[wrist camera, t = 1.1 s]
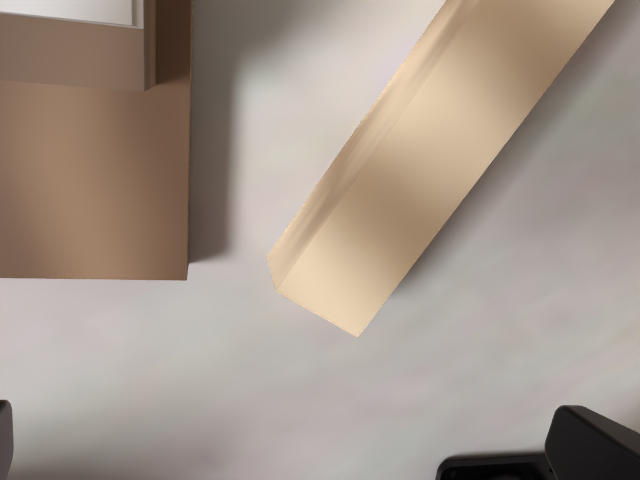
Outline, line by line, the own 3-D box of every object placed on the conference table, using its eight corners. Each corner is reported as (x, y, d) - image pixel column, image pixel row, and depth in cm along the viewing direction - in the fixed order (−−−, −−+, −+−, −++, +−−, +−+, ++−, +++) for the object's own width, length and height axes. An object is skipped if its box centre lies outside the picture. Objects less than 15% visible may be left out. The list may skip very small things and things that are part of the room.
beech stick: (647, -292, 17) (749, -372, 14) (707, -207, 18) (814, -262, 15) (266, 253, 21) (275, 291, 18) (336, 295, 22) (357, 337, 19)
